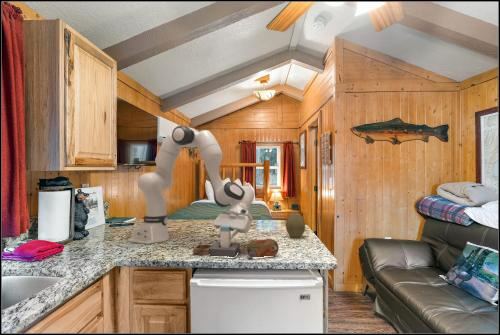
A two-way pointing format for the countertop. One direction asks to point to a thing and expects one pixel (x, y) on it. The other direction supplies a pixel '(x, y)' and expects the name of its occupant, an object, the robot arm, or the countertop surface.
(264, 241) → the tin
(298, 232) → the olive brown vase
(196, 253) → the brown shallow square box
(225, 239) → the blue capped bottle
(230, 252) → the port
